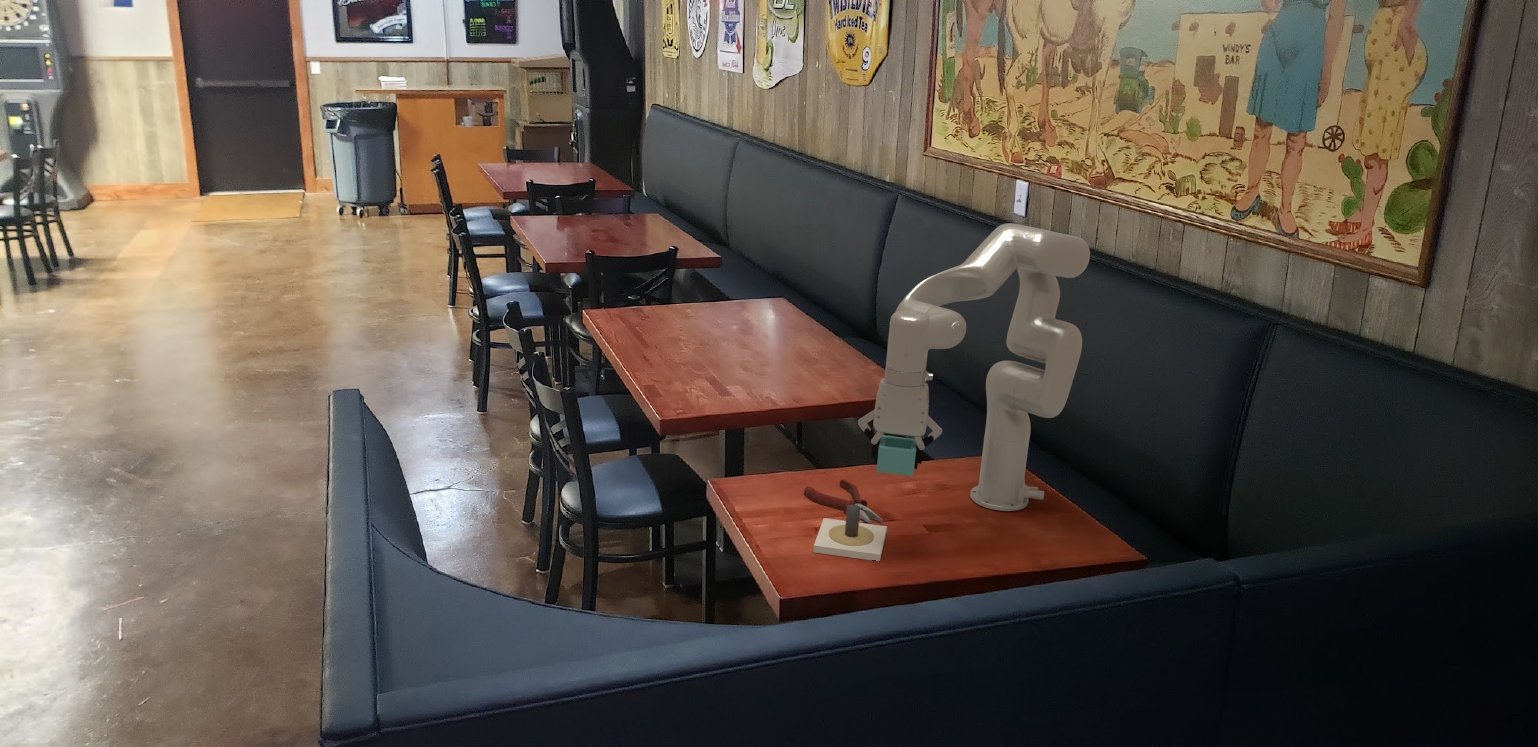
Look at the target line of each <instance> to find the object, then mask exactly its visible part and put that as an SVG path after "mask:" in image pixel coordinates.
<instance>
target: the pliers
mask: <svg viewBox="0 0 1538 747" xmlns="http://www.w3.org/2000/svg"><path fill="white" fill-rule="evenodd" d="M839 487H840V488H841V489H842V490H844V491H846V492H847V493H849V494H850V495H851V497H852V500H848V499H845V498H844V499H843V498H840V497H837V496H836V497H835V496H832V495H829V494H825V493H822V492H819V491H817V490H816V489H814V488H813V487H811V486H810V485H808V486H806V487H805V488H804V490H803V491H804V492H803V494H804V496H805V497H807V498H808V499H809V500H810V501H812V502H813V503H816V504H819V505H822V506H826V507H830V508H834V509H837V510H840V511H843V513H844V515H846V513H847V506H848V505H851V504H854V505H858V506H860V516H859V520H862V521H865V522H866V523H867V524H872V525H873V522H872V520H875V521H879V522H884V519H883V518H881V517H880V516H879V515H878V514H876V513H875V512H874V511H873V510H872V509H870V508H869V507H868V501H867V499H863V498H862V499H861V496H860V493H859V492H860V491H859V490H858V488H857V486H856V485H855V484H853V482H850V481H848V480H846V479H841V480H839ZM871 519H872V520H871Z"/></svg>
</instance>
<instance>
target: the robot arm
mask: <svg viewBox="0 0 1538 747" xmlns="http://www.w3.org/2000/svg"><path fill="white" fill-rule="evenodd" d="M1090 259H1091V250H1090V247H1089V244H1088V243H1087V241H1086V240H1085V239H1083V238H1082V237H1080V236H1076V235H1070V234H1067V233H1061V232H1057V231H1052V230H1049V229H1048V230H1047V229H1044V228H1038V227H1033V226H1029V225H1024V224H1019V223H1013V222H1012V223H1009V222H1008V223H1003V224H1000V225H999V226H997V227H996V228H995V229H994V230H993V231H992V232H991V233H990V234H989V235H988V236H987V237H986V238H985V239H984V240H983V241H982V242H981V243H980V245H978V247H977V248H976V249H975V250H974V251H973V252H972V253H971V254H970V255H969V256H968V257H967V259H965V261H964V262H962V263H961V264H959V265H956V266H953V267H952V268H947V269H945V270H943V271H940V272H938V273H936V274H933V275H930V276H928V277H926V278H925V279H923V280H921V281H920V282H919V283H917V284H916V285H915V286H914V287H913V288H912V289H911V290H910V291H909V293H907V294H906V296H905V297H903V299H902V300H901V302H900V303H899V304H898V306H897V308H896V310H895V311H894V313H893V314H892V315H891V316H890V321H889V328H888V329H889V331H888V339H887V350H886V359H885V360H886V361H885V368H884V370H885V371H884V377H883V378H881V379H880V381H879V384H878V388H877V393H876V399H875V404H874V409H873V410H871V411H870V412H868V413H867V414H865V415H864V416H862V417H860V418H858V420H857V424H858V427H859V428H860V429H861V430H862V432H863V434H864V435H865V436H866V438H868V439H869V441H870V443H871V445H872V446H871V457H870V458H871V459H874V462H873V464H874V465H877V461H878V450H879V444H880V440H881V436H882V435H884V434H888V435H897V436H904V437H913V439H915V441H916V443H917V447H916V456H915V465H914V470H918V465H919V464H921V465H922V462H923V453H924V452H923V451H924V450H925V448H927V447H928V446H929V445H931V444H932V443H933V442H934V441H935V440H936V439H937V438H939V436H941V435H942V434H943V428H942V426H941V427H940V426H939V424H938V423H936V421H935V420H933V419H932V417H930V416H929V407H930V406H929V404H930V403H929V402H930V394H929V393H930V392H929V391H930V390H929V383H927V381H933V378H934V377H933V376H934V373H932V372H929V371H928V370H926V369H927V361H928V354H929V353H928V352H929V350H946V349H947V350H948V349H951V348H955V347H956V346H957V345H958V344H960V343H961V342H962V341H963V340H964V338H965V336H966V332H967V323H966V320H965V318H964V317H963V316H962V315H961V314H960V313H959V312H957V311H955V310H953V309H949V308H945V307H942V306H943V305H948V304H951V303H956V302H957V303H958V302H966V301H975V300H981V299H985V298H989V297H991V296H993V295H994V294H995V293H996V292H997V291H998V290H999V289H1000V288H1001V286H1003V284H1004V283H1005V282H1006V281H1007V279H1009V277H1010V276H1011V275H1013V273H1014V272H1015V271H1017V274H1018V277H1019V290H1018V295H1017V299H1016V303H1015V306H1014V310H1013V313H1012V317H1011V321H1010V323H1009V325H1008V326H1009V327H1008V331H1007V336H1006V341H1005V343H1006V346H1007V349H1008V350H1009V351H1010V352H1012V354H1014V355H1017V356H1019V357H1023V358H1026V359H1028V360H1032V361H1036V362H1039V363H1042V364H1045V367H1044V368H1045V369H1041V368H1038V367H1035V366H1032V365H1030V364H1025V363H1022V362H1018V361H1014V360H1002V361H998V362H996V363H994V364H993V365H992V366H991V367H990V369H989V370H988V373H987V374H986V381H985V393H986V421H985V422H986V423H985V431H984V436H983V437H984V438H983V445H982V455H981V463H980V471H979V480H978V485H975V486H974V487H972V488H971V489H970V495H969V496H970V499H971V500H972V501H973V502H974V503H976V504H977V505H978V506H981V507H983V508H986V509H989V510H993V511H994V510H995V511H999V512H1016V511H1020V510H1023V509H1024V508H1026V507H1027V506H1028V504H1029V499H1035V500H1039V501H1041V500H1042V501H1043V500H1044V496H1045V491H1044V490H1039V487H1038V486H1028V484H1026V479H1025V475H1026V467H1027V458H1028V453H1029V451H1028V450H1029V443H1030V437H1031V430H1032V429H1031V426H1032V425H1031V420H1030V416H1029V414H1031V415H1035V416H1036V417H1041V418H1045V419H1051V418H1055V417H1057V416H1058V415H1060V414H1061V412H1062V411H1063V409H1064V407H1065V406H1066V403H1067V400H1068V398H1069V395H1070V393H1071V392H1070V391H1071V388H1072V384H1073V380H1074V377H1075V375H1076V372H1077V369H1078V364H1079V360H1080V358H1081V355H1082V348H1083V337H1082V336H1083V335H1082V333H1081V331H1080V329H1079V328H1078V327H1077V326H1076V325H1074V324H1073V323H1071V322H1067V321H1065V320H1061V319H1057V318H1056V315H1057V310H1058V305H1059V303H1060V299H1061V298H1060V297H1061V290H1060V285H1059V282H1058V279H1057V277H1060V278H1065V279H1073V278H1076V277H1078V276H1080V275H1081V274H1082V273H1083V272H1084V271H1086V269H1087V267H1088V265H1089V263H1090ZM872 420H873V421H872ZM871 421H872V423H873V429H874V430H873V429H872V428H871V427H870V425H869V424H868V423H870V422H871ZM927 427H928V428H930V430H932V431H931V432H930V433H929V434H928V435H926V436H924V435H925V434H926V433H927Z"/></svg>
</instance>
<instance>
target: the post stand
mask: <svg viewBox="0 0 1538 747" xmlns="http://www.w3.org/2000/svg"><path fill="white" fill-rule="evenodd" d="M845 515H846V516H845V520H841V519H833V518H828V517H827V518H825V517H823V519H822V522H821V525H820V528H819V529H818V532H817V536H816V539H815V541H814V544H813V550H812V551H813V552H812V553H815V554H816V553H817V554H822V555H831V556H837V557H845V558H851V559H852V558H853V559H858V560H859V559H860V560H866V561H872V560H876V561H875V562H879V561H880V562H881V558H882V553H883V549H884V545H885V541H886V535H887V533H888V532H887V530H888V526H886V525H879V524H873V523H872V524H870V523H865V522H864V523H862V522H860V518H859V516H860V506H858V505H854V504H851V505H848V506H847V513H846V514H845Z"/></svg>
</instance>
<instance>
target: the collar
mask: <svg viewBox="0 0 1538 747" xmlns="http://www.w3.org/2000/svg"><path fill="white" fill-rule="evenodd" d="M916 447H917V443H916V441H915V438H910V437H902V436H901V437H900V436H894V435H884V434H883V435H882V436H881V438H880V444H879V450H878V461H877V464H876V471H875V472H877V473H884V474H889V475H890V474H892V475H900V476H908V477H914V473H915V468H914V465H915V456H916Z"/></svg>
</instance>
